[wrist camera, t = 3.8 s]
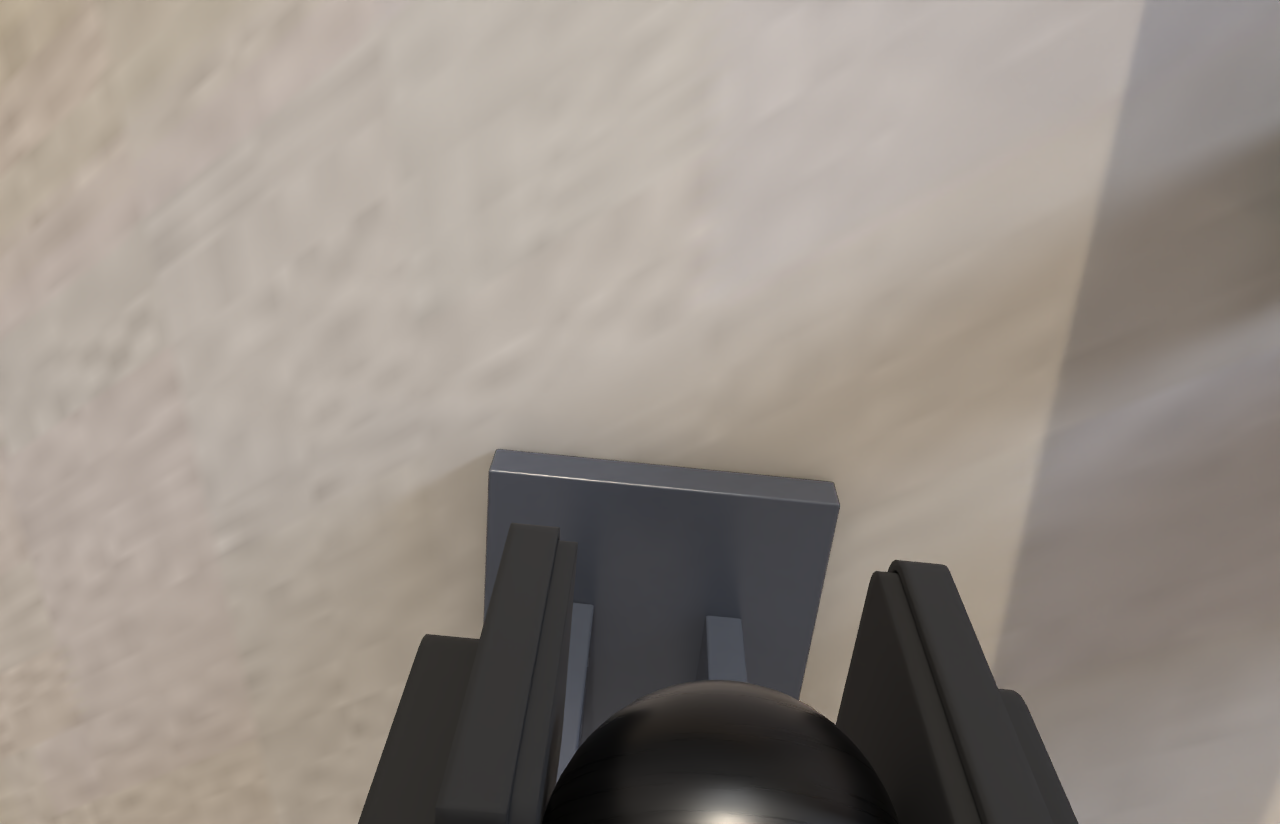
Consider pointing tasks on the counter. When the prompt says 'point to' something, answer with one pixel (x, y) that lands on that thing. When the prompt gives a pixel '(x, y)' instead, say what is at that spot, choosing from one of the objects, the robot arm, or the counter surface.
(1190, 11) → the counter surface
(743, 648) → the bracket
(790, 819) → the lever
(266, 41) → the counter surface
